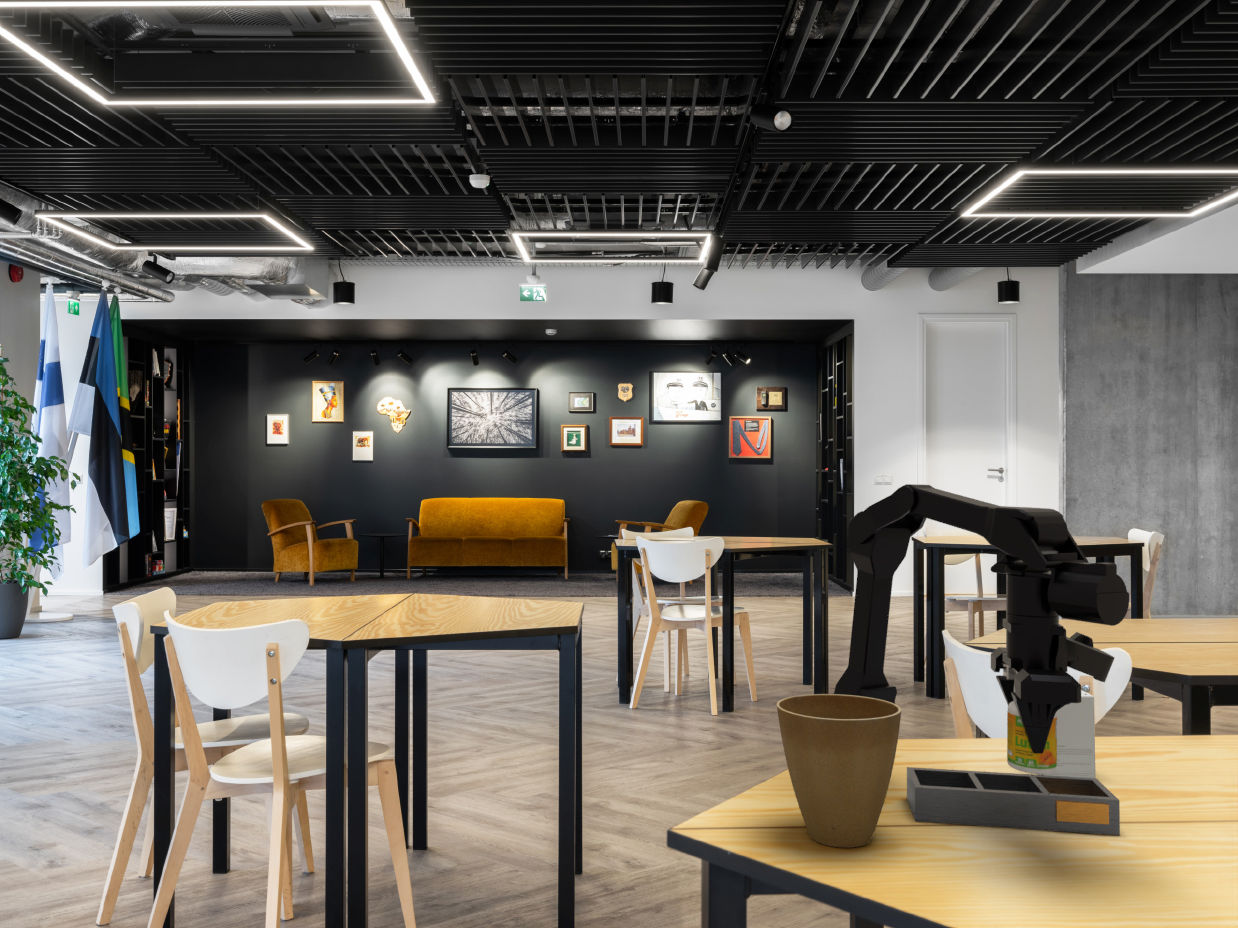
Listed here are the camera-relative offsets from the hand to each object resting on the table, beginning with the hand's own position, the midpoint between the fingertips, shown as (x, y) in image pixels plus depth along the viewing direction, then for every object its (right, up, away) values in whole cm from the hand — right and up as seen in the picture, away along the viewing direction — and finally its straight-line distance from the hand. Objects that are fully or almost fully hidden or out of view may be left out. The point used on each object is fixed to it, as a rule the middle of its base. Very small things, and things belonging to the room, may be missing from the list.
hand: (1031, 745), depth 109 cm
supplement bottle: (0, -3, 0) cm, 3 cm away
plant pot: (-22, -12, +4) cm, 26 cm away
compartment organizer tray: (+2, -13, +11) cm, 17 cm away
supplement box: (+18, -14, +29) cm, 37 cm away
